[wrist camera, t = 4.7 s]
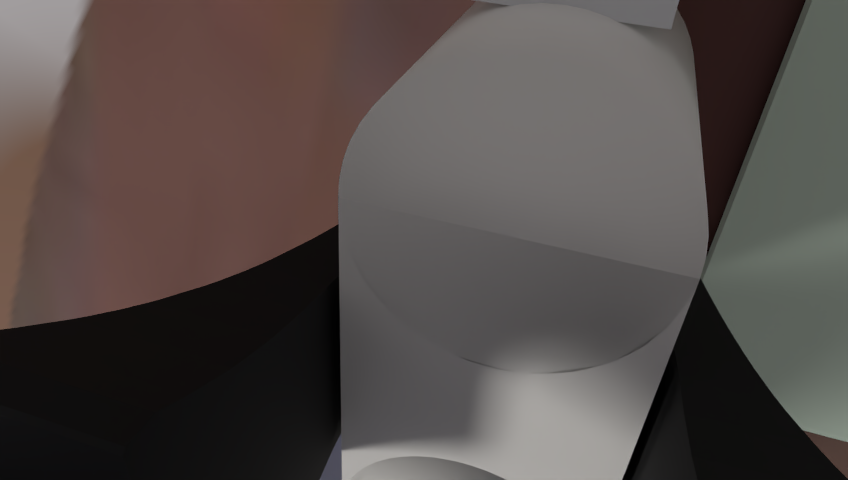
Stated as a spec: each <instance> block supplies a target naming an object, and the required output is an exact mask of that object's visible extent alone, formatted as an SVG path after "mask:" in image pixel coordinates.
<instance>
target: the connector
mask: <svg viewBox="0 0 848 480" xmlns="http://www.w3.org/2000/svg"><path fill="white" fill-rule="evenodd" d="M475 1H476V2H475V3H474V4H473V5H472V6H471V7H470V8H469V9H468V10H467V11H466V12H465V13H464V14H463V15H462V16H461V17H460V18H459V19H458V20H457V21H456V22H455V23H454V24H453V25H452V26H451V27H450V28H449V29H448V30H447V31H446V32H445V33H444V34H443V35H442V36H441V37H440V39H439V40H438V41H437V42H436V43H435V44H434V45H433V46H432V47H431V48H430V49H429V50H428V51H427V52H426V53H425V54H424V55H423V56H422V57H421V58H420V59H419V60H418V61H417V62H416V63H415V64H414V65H413V66H412V67H411V68H410V69H409V70H408V71H407V72H406V73H405V74H404V75H403V76H402V77H401V78H400V79H399V80H398V81H397V82H396V83H395V84H394V85H393V86H392V87H391V88H390V89H389V90H388V91H387V92H386V93H385V94H384V95H383V96H382V97H381V98H380V99H379V100H378V101H377V102H376V103H375V104H374V105H373V107H372V108H371V109H370V111H369V112H368V113H367V114H366V116H365V117H364V118H363V119H362V121H361V122H360V124H359V126H358V127H357V129H356V131H355V133H354V134H353V136H352V138H351V140H350V142H349V145H348V148H347V150H346V153H345V156H344V158H343V163H342V168H341V173H340V177H339V192H338V221H339V297H340V372H341V447H342V480H622V479H623V476H624V474H625V471H626V469H627V466H628V463H629V461H630V458H631V456H632V453H633V451H634V448H635V445H636V443H637V440H638V438H639V435H640V432H641V430H642V427H643V425H644V422H645V420H646V417H647V414H648V412H649V409H650V407H651V404H652V402H653V399H654V396H655V394H656V391H657V389H658V386H659V383H660V381H661V378H662V376H663V373H664V371H665V368H666V365H667V363H668V360H669V358H670V355H671V352H672V350H673V347H674V345H675V342H676V340H677V337H678V334H679V332H680V329H681V327H682V324H683V321H684V319H685V316H686V314H687V311H688V309H689V306H690V303H691V301H692V298H693V296H694V293H695V291H696V288H697V285H698V283H699V280H700V277H701V274H702V270H703V267H704V264H705V260H706V255H707V247H708V238H709V230H708V211H707V199H706V188H705V177H704V166H703V154H702V143H701V132H700V120H699V109H698V98H697V87H696V75H695V64H694V54H693V49H692V44H691V39H690V36H689V33H688V30H687V27H686V25H685V22H684V20H683V18H682V17H681V15H680V13H679V11H678V9H677V7H678V3H679V0H475Z"/></svg>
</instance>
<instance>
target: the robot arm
mask: <svg viewBox="0 0 848 480" xmlns="http://www.w3.org/2000/svg"><path fill="white" fill-rule="evenodd" d="M0 480H342V447H341V372H340V297H339V224H338V225H336V226H335V227H333V228H331V229H329V230H328V231H326V232H324V233H322V234H321V235H319V236H317V237H315V238H313V239H311V240H309V241H307V242H305V243H303V244H301V245H299V246H297V247H295V248H293V249H291V250H289V251H287V252H285V253H283V254H281V255H279V256H277V257H275V258H273V259H271V260H269V261H267V262H265V263H263V264H260V265H258V266H256V267H253V268H251V269H249V270H246V271H244V272H241V273H239V274H236V275H233V276H231V277H228V278H226V279H223V280H220V281H218V282H215V283H212V284H209V285H206V286H203V287H200V288H196V289H193V290H190V291H186V292H183V293H180V294H177V295H173V296H170V297H167V298H164V299H160V300H157V301H153V302H149V303H145V304H141V305H137V306H133V307H129V308H125V309H121V310H116V311H111V312H106V313H102V314H97V315H92V316H87V317H82V318H76V319H71V320H64V321H58V322H51V323H44V324H38V325H31V326H25V327H18V328H11V329H4V330H0ZM622 480H848V479H847V478H846V477H845V476H844V475H843V474H842V473H841V472H840V471H839V470H838V469H837V468H836V467H835V466H834V465H833V464H832V463H831V462H830V460H829V459H828V458H827V457H826V456H825V455H824V454H823V453H822V452H821V451H820V450H819V449H818V448H817V446H816V445H815V444H814V443H813V442H812V441H811V440H810V438H809V437H808V436H807V435H806V434H805V433H804V431H803V430H802V429H801V428H800V427H799V426H798V424H797V423H796V422H795V421H794V420H793V418H792V417H791V416H790V415H789V414H788V413H787V411H786V410H785V409H784V408H783V406H782V405H781V404H780V403H779V401H778V400H777V399H776V398H775V396H774V395H773V394H772V392H771V391H770V390H769V388H768V387H767V386H766V384H765V383H764V381H763V380H762V379H761V377H760V376H759V374H758V373H757V372H756V370H755V369H754V367H753V366H752V364H751V363H750V361H749V360H748V358H747V357H746V355H745V354H744V352H743V351H742V349H741V347H740V346H739V344H738V343H737V341H736V339H735V338H734V336H733V334H732V333H731V331H730V330H729V328H728V326H727V325H726V323H725V321H724V320H723V318H722V316H721V314H720V313H719V311H718V309H717V307H716V305H715V304H714V302H713V300H712V298H711V296H710V295H709V293H708V291H707V289H706V287H705V285H704V283H703V281H702V280H701V278H700V280H699V283H698V285H697V288H696V291H695V293H694V296H693V298H692V301H691V303H690V306H689V309H688V311H687V314H686V316H685V319H684V321H683V324H682V327H681V329H680V332H679V334H678V337H677V340H676V342H675V345H674V347H673V350H672V352H671V355H670V358H669V360H668V363H667V365H666V368H665V371H664V373H663V376H662V378H661V381H660V383H659V386H658V389H657V391H656V394H655V396H654V399H653V402H652V404H651V407H650V409H649V412H648V414H647V417H646V420H645V422H644V425H643V427H642V430H641V432H640V435H639V438H638V440H637V443H636V445H635V448H634V451H633V453H632V456H631V458H630V461H629V463H628V466H627V469H626V471H625V474H624V476H623V479H622Z"/></svg>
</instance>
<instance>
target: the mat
mask: <svg viewBox="0 0 848 480" xmlns="http://www.w3.org/2000/svg"><path fill="white" fill-rule="evenodd" d="M700 278H701V280H702V281H703V283H704V285H705V287H706V289H707V291H708V293H709V295H710V296H711V298H712V300H713V302H714V304H715V305H716V307H717V309H718V311H719V313H720V314H721V316H722V318H723V320H724V321H725V323H726V325H727V326H728V328H729V330H730V331H731V333H732V334H733V336H734V338H735V339H736V341H737V343H738V344H739V346H740V347H741V349H742V351H743V352H744V354H745V355H746V357H747V358H748V360H749V361H750V363H751V364H752V366H753V367H754V369H755V370H756V372H757V373H758V374H759V376H760V377H761V379H762V380H763V381H764V383H765V384H766V386H767V387H768V388H769V390H770V391H771V392H772V394H773V395H774V396H775V398H776V399H777V400H778V401H779V403H780V404H781V405H782V406H783V408H784V409H785V410H786V411H787V413H788V414H789V415H790V416H791V417H792V418H793V420H794V421H795V422H796V423H797V424H798V426H799V427H800V428H801V429H802V430H804V431H808V432H811V433H815V434H819V435H823V436H827V437H830V438H834V439H838V440H842V441H846V442H848V0H806V1H805V4H804V6H803V9H802V11H801V14H800V17H799V19H798V22H797V24H796V27H795V29H794V32H793V35H792V37H791V40H790V42H789V45H788V48H787V50H786V53H785V55H784V58H783V61H782V63H781V66H780V68H779V71H778V73H777V76H776V79H775V81H774V84H773V86H772V89H771V92H770V94H769V97H768V99H767V102H766V104H765V107H764V110H763V112H762V115H761V117H760V120H759V123H758V125H757V128H756V130H755V133H754V136H753V138H752V141H751V143H750V146H749V148H748V151H747V154H746V156H745V159H744V161H743V164H742V167H741V169H740V172H739V174H738V177H737V180H736V182H735V185H734V187H733V190H732V192H731V195H730V198H729V200H728V203H727V205H726V208H725V211H724V213H723V216H722V218H721V221H720V223H719V226H718V229H717V231H716V234H715V236H714V239H713V242H712V244H711V247H710V249H709V252H708V255H707V257H706V260H705V264H704V267H703V270H702V274H701V277H700Z"/></svg>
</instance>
